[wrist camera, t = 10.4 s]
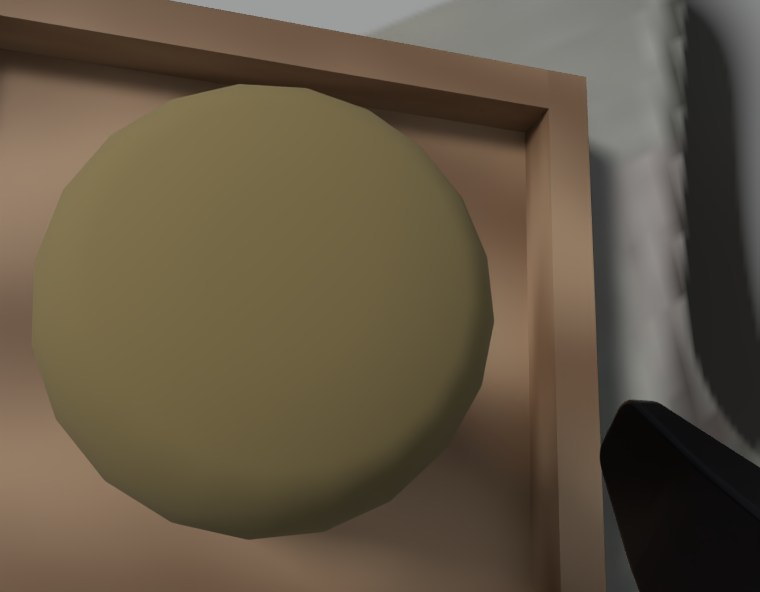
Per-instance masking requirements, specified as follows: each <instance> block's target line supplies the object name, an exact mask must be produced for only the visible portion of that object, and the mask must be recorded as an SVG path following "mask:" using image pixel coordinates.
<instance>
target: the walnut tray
mask: <svg viewBox="0 0 760 592" xmlns="http://www.w3.org/2000/svg"><path fill="white" fill-rule="evenodd" d="M236 84H246V85H263V86H280V87H297V88H307V89H311V90H313V91H316V92H319V93H322V94H325V95H328V96H331V97H333V98H336V99H339V100H342V101H345V102H348V103H350V104H353V105H356V106H359V107H362V108H365V109H367V110H369V111H371V112H372V113H374V114H375V115H377V116H378V117H379V118H381V119H382V120H384V121H385V122H386V123H388V124H389V125H391V126H392V127H394V128H395V129H396V130H398V131H399V132H401V133H402V134H404V135H405V136H406V137H408V138H409V139H411V140H412V141H413V142H415V143H416V144H418V145H419V146H420V147H422V149H423V150H424V151H425V152H426V154H427V155H428V156H429V157H430V159H431V160H432V161H433V162H434V163H435V165H436V166H437V167H438V168H439V170H440V171H441V172H442V173H443V175H444V176H445V177H446V178H447V179H448V181H449V182H450V183H451V184H452V186H453V187H454V188H455V189H456V191H457V192H458V193H459V194H460V195H461V197H462V198H463V201H464V203H465V205H466V208H467V210H468V212H469V215H470V217H471V220H472V222H473V224H474V227H475V229H476V231H477V234H478V236H479V238H480V241H481V243H482V246H483V248H484V250H485V253H486V255H487V259H488V268H489V277H490V286H491V295H492V304H493V313H494V325H493V330H492V335H491V341H490V346H489V351H488V356H487V361H486V367H485V372H484V377H483V382H482V386H481V388H480V390H479V392H478V393H477V395H476V397H475V399H474V401H473V403H472V404H471V406H470V408H469V410H468V412H467V413H466V415H465V417H464V419H463V421H462V423H461V424H460V426H459V428H458V430H457V432H456V434H455V435H454V437H453V439H452V441H451V443H450V445H449V446H448V447H447V448H446V449H445V450H444V451H443V452H442V453H441V454H440V455H439V456H438V457H437V458H436V459H435V460H434V461H433V462H432V463H431V464H430V465H429V466H427V467H426V468H425V469H424V470H423V471H422V472H421V473H420V474H419V475H418V476H417V477H416V478H415V479H414V480H413V481H411V482H410V483H409V484H408V485H407V486H406V487H405V488H404V489H403V490H402V491H401V492H400V493H399V494H398V495H396V496H395V497H394V498H393V499H392V500H391V501H390V502H388V503H385V504H383V505H381V506H379V507H377V508H375V509H372V510H370V511H368V512H366V513H364V514H362V515H359V516H357V517H355V518H353V519H351V520H348V521H346V522H344V523H342V524H340V525H338V526H335V527H333V528H331V529H329V530H327V531H325V532H317V533H308V534H299V535H290V536H280V537H271V538H262V539H252V540H246V539H242V538H237V537H233V536H229V535H224V534H220V533H215V532H211V531H206V530H202V529H198V528H193V527H189V526H184V525H180V524H175V523H172V522H170V521H168V520H167V519H165V518H164V517H162V516H160V515H159V514H157V513H156V512H154V511H152V510H151V509H149V508H147V507H146V506H144V505H143V504H141V503H139V502H138V501H136V500H135V499H133V498H131V497H130V496H128V495H127V494H125V493H123V492H122V491H120V490H119V489H117V488H115V487H114V486H112V485H111V484H109V483H107V482H106V481H104V479H103V478H102V477H101V476H100V474H99V473H98V472H97V470H96V469H95V468H94V467H93V465H92V464H91V463H90V462H89V460H88V459H87V458H86V457H85V455H84V454H83V453H82V452H81V450H80V449H79V448H78V447H77V445H76V444H75V443H74V441H73V440H72V439H71V438H70V436H69V435H68V434H67V433H66V431H65V430H64V429H63V428H62V426H61V425H60V424H59V423H58V421H57V420H56V418H55V415H54V412H53V409H52V406H51V403H50V400H49V397H48V394H47V391H46V388H45V385H44V382H43V379H42V376H41V373H40V370H39V367H38V364H37V361H36V358H35V355H34V352H33V349H32V346H31V344H32V313H33V282H34V266H35V259H36V256H37V254H38V251H39V249H40V246H41V244H42V241H43V239H44V236H45V234H46V231H47V229H48V226H49V224H50V221H51V219H52V216H53V214H54V211H55V209H56V206H57V204H58V201H59V199H60V196H61V194H62V191H63V189H64V188H65V187H66V186H67V185H68V184H69V182H70V181H71V180H72V179H73V178H74V177H75V176H76V174H77V173H78V172H79V171H80V170H81V169H82V167H83V166H84V165H85V164H86V163H87V162H88V161H89V159H90V158H91V157H92V156H93V155H94V154H95V153H96V151H97V150H98V149H99V148H100V147H101V146H102V145H103V143H104V142H105V141H106V140H107V139H108V138H109V137H110V135H112V134H114V133H115V132H117V131H119V130H121V129H122V128H124V127H126V126H127V125H129V124H131V123H132V122H134V121H136V120H138V119H139V118H141V117H143V116H144V115H146V114H148V113H149V112H151V111H153V110H155V109H156V108H158V107H160V106H161V105H163V104H165V103H166V102H168V101H170V100H172V99H176V98H181V97H185V96H189V95H193V94H198V93H202V92H206V91H211V90H215V89H219V88H223V87H228V86H232V85H236ZM600 448H601V443H600V418H599V392H598V367H597V342H596V316H595V291H594V266H593V240H592V215H591V190H590V164H589V139H588V114H587V89H586V77H583V76H577V75H572V74H567V73H561V72H556V71H550V70H545V69H539V68H534V67H529V66H523V65H518V64H512V63H507V62H501V61H496V60H490V59H485V58H480V57H474V56H469V55H463V54H458V53H452V52H447V51H442V50H436V49H431V48H425V47H420V46H414V45H409V44H404V43H398V42H393V41H387V40H382V39H376V38H371V37H365V36H360V35H355V34H349V33H344V32H338V31H333V30H327V29H321V28H316V27H311V26H306V25H300V24H295V23H289V22H284V21H279V20H273V19H268V18H262V17H256V16H251V15H246V14H240V13H235V12H230V11H224V10H219V9H213V8H208V7H202V6H197V5H192V4H186V3H181V2H175V1H170V0H0V592H606V569H605V544H604V519H603V493H602V469H601V465H600V458H599V456H600Z"/></svg>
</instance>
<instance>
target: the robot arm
mask: <svg viewBox="0 0 760 592" xmlns="http://www.w3.org/2000/svg"><path fill="white" fill-rule="evenodd" d="M599 458H600V465H601V469H602V473H603V476H604V479H605V483H606V486H607V490H608V493H609V496H610V500H611V503H612V507H613V510H614V514H615V517H616V520H617V524H618V527H619V531H620V534H621V538H622V541H623V544H624V548H625V551H626V555H627V558H628V561H629V564H630V567H631V570H632V573H633V576H634V578H635V581H636V584H637V586H638V589H639V592H760V467H758V466H757V465H755V464H754V463H752V462H751V461H749V460H747V459H746V458H744V457H743V456H741V455H740V454H738V453H736V452H735V451H733V450H732V449H730V448H729V447H727V446H726V445H724V444H722V443H721V442H719V441H718V440H716V439H715V438H713V437H712V436H710V435H708V434H707V433H705V432H704V431H702V430H701V429H699V428H697V427H696V426H694V425H693V424H691V423H690V422H688V421H687V420H685V419H683V418H682V417H680V416H679V415H677V414H676V413H674V412H673V411H671V410H669V409H668V408H666V407H665V406H663V405H662V404H660V403H658V402H655V401H645V400H628V401H625V402H624V403H623V404H622V405H621V406H620V407H619V409H618V411H617V413H616V415H615V417H614V419H613V421H612V424H611V426H610V428H609V430H608V432H607V434H606V436H605V438H604V440H603V442H602V445H601V448H600V456H599Z"/></svg>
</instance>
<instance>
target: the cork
mask: <svg viewBox="0 0 760 592" xmlns="http://www.w3.org/2000/svg"><path fill="white" fill-rule="evenodd" d="M493 325H494V313H493V304H492V295H491V286H490V277H489V268H488V259H487V255H486V253H485V250H484V248H483V246H482V243H481V241H480V238H479V236H478V234H477V231H476V229H475V227H474V224H473V222H472V220H471V217H470V215H469V212H468V210H467V208H466V205H465V203H464V201H463V198H462V197H461V195H460V194H459V193H458V192H457V191H456V189H455V188H454V187H453V186H452V184H451V183H450V182H449V181H448V179H447V178H446V177H445V176H444V175H443V173H442V172H441V171H440V170H439V168H438V167H437V166H436V165H435V163H434V162H433V161H432V160H431V159H430V157H429V156H428V155H427V154H426V152H425V151H424V150H423V149H422V147H420V146H419V145H418V144H416V143H415V142H413V141H412V140H411V139H409V138H408V137H406V136H405V135H404V134H402V133H401V132H399V131H398V130H396V129H395V128H394V127H392V126H391V125H389V124H388V123H386V122H385V121H384V120H382V119H381V118H379V117H378V116H377V115H375V114H374V113H372V112H371V111H369V110H367V109H365V108H362V107H359V106H356V105H353V104H350V103H348V102H345V101H342V100H339V99H336V98H333V97H331V96H328V95H325V94H322V93H319V92H316V91H313V90H311V89H307V88H297V87H280V86H263V85H246V84H236V85H232V86H228V87H223V88H219V89H215V90H211V91H206V92H202V93H198V94H193V95H189V96H185V97H181V98H176V99H172V100H170V101H168V102H166V103H165V104H163V105H161V106H160V107H158V108H156V109H155V110H153V111H151V112H149V113H148V114H146V115H144V116H143V117H141V118H139V119H138V120H136V121H134V122H132V123H131V124H129V125H127V126H126V127H124V128H122V129H121V130H119V131H117V132H115V133H114V134H112V135H110V137H109V138H108V139H107V140H106V141H105V142H104V143H103V145H102V146H101V147H100V148H99V149H98V150H97V151H96V153H95V154H94V155H93V156H92V157H91V158H90V159H89V161H88V162H87V163H86V164H85V165H84V166H83V167H82V169H81V170H80V171H79V172H78V173H77V174H76V176H75V177H74V178H73V179H72V180H71V181H70V182H69V184H68V185H67V186H66V187H65V188H64V189H63V191H62V194H61V196H60V199H59V201H58V204H57V206H56V209H55V211H54V214H53V216H52V219H51V221H50V224H49V226H48V229H47V231H46V234H45V236H44V239H43V241H42V244H41V246H40V249H39V251H38V254H37V256H36V259H35V266H34V282H33V313H32V344H31V346H32V349H33V352H34V355H35V358H36V361H37V364H38V367H39V370H40V373H41V376H42V379H43V382H44V385H45V388H46V391H47V394H48V397H49V400H50V403H51V406H52V409H53V412H54V415H55V418H56V420H57V421H58V423H59V424H60V425H61V426H62V428H63V429H64V430H65V431H66V433H67V434H68V435H69V436H70V438H71V439H72V440H73V441H74V443H75V444H76V445H77V447H78V448H79V449H80V450H81V452H82V453H83V454H84V455H85V457H86V458H87V459H88V460H89V462H90V463H91V464H92V465H93V467H94V468H95V469H96V470H97V472H98V473H99V474H100V476H101V477H102V478H103V479H104V481H106V482H107V483H109V484H111V485H112V486H114V487H115V488H117V489H119V490H120V491H122V492H123V493H125V494H127V495H128V496H130V497H131V498H133V499H135V500H136V501H138V502H139V503H141V504H143V505H144V506H146V507H147V508H149V509H151V510H152V511H154V512H156V513H157V514H159V515H160V516H162V517H164V518H165V519H167V520H168V521H170V522H172V523H175V524H180V525H184V526H189V527H193V528H198V529H202V530H206V531H211V532H215V533H220V534H224V535H229V536H233V537H237V538H242V539H246V540H252V539H262V538H271V537H280V536H290V535H299V534H308V533H317V532H325V531H327V530H329V529H331V528H333V527H335V526H338V525H340V524H342V523H344V522H346V521H348V520H351V519H353V518H355V517H357V516H359V515H362V514H364V513H366V512H368V511H370V510H372V509H375V508H377V507H379V506H381V505H383V504H385V503H388V502H390V501H391V500H392V499H393V498H394V497H395V496H396V495H398V494H399V493H400V492H401V491H402V490H403V489H404V488H405V487H406V486H407V485H408V484H409V483H410V482H411V481H413V480H414V479H415V478H416V477H417V476H418V475H419V474H420V473H421V472H422V471H423V470H424V469H425V468H426V467H427V466H429V465H430V464H431V463H432V462H433V461H434V460H435V459H436V458H437V457H438V456H439V455H440V454H441V453H442V452H443V451H444V450H445V449H446V448H447V447H448V446H449V445H450V443H451V441H452V439H453V437H454V435H455V434H456V432H457V430H458V428H459V426H460V424H461V423H462V421H463V419H464V417H465V415H466V413H467V412H468V410H469V408H470V406H471V404H472V403H473V401H474V399H475V397H476V395H477V393H478V392H479V390H480V388H481V386H482V382H483V377H484V372H485V367H486V361H487V356H488V351H489V346H490V341H491V335H492V330H493Z"/></svg>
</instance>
